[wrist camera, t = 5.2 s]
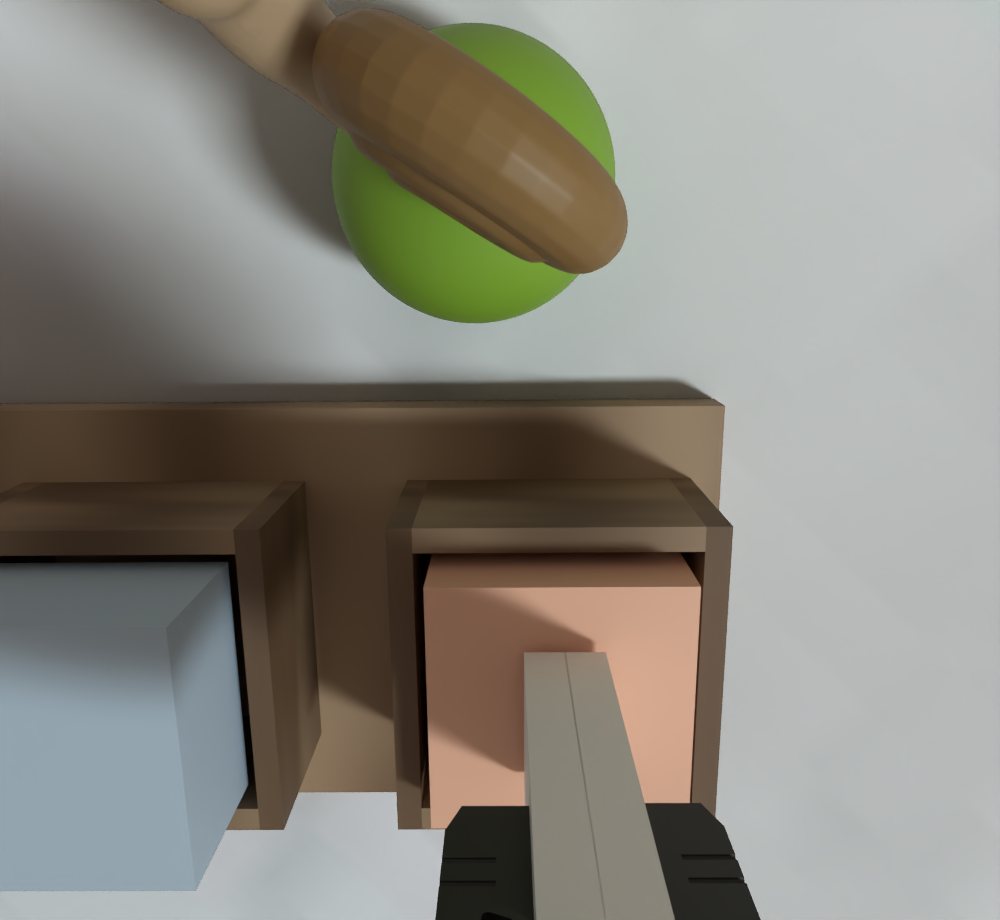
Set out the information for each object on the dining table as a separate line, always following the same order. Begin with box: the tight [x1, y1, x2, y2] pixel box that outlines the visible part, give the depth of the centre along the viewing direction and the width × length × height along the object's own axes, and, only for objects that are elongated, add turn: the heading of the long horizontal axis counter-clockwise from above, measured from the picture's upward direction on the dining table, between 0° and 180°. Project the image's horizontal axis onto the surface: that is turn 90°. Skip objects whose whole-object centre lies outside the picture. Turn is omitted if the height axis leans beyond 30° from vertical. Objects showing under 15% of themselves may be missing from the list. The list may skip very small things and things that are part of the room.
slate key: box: [0, 562, 248, 891], centre depth 15 cm, size 5×5×3 cm
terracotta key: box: [423, 552, 701, 828], centre depth 17 cm, size 5×5×3 cm
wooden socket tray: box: [0, 399, 733, 830], centre depth 18 cm, size 26×10×5 cm, turn 90°
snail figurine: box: [157, 0, 628, 323], centre depth 12 cm, size 5×6×12 cm
